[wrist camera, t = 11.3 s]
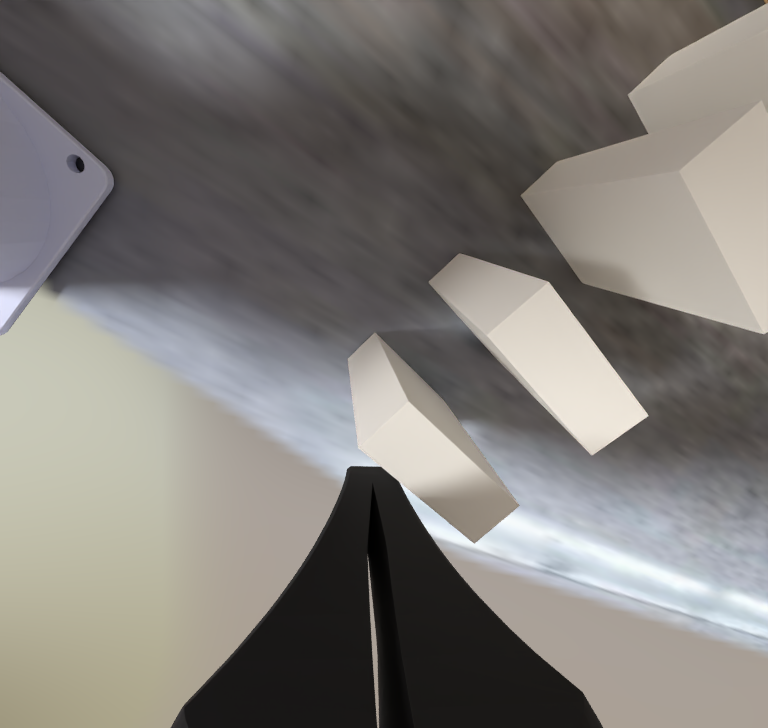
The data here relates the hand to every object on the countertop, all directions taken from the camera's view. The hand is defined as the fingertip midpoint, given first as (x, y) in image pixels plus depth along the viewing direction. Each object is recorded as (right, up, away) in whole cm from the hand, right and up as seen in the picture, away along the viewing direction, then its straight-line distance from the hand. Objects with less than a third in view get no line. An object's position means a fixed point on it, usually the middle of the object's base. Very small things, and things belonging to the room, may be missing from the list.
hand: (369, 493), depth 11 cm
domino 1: (+1, +3, +5) cm, 6 cm away
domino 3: (+4, +6, +4) cm, 8 cm away
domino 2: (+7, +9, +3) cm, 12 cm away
